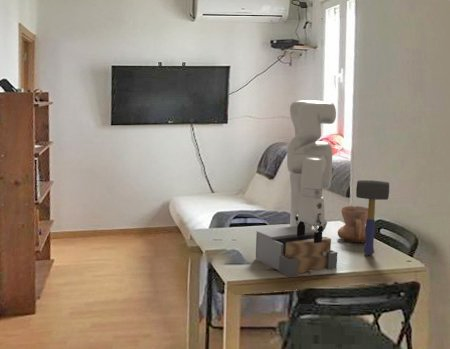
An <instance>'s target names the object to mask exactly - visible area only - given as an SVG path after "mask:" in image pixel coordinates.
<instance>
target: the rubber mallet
mask: <svg viewBox="0 0 450 349" xmlns="http://www.w3.org/2000/svg"><path fill="white" fill-rule="evenodd" d="M389 195H390V182H387V181H382V180H372V179H371V180H370V179H369V180H367V179H365V180H364V179H363V180H361V179H360V180H357V181H356V188H355V196H356V198H359V199H365V200H368V207H367V208H368V218H367V221H366V224H365V226H366V227H365V242H364V247H363V254H364V255H365V256H368V255H371V256H373V254H374V253H375V248H374V243H375V242H374V241H375V239H374V238H375V233H376V220H375V213H376V212H375V210H376V200H379V201H380V200H381V201H382V200H384V201H385V200H389V198H390V196H389Z"/></svg>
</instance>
